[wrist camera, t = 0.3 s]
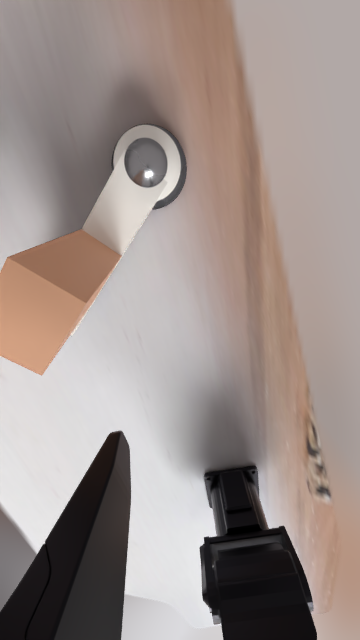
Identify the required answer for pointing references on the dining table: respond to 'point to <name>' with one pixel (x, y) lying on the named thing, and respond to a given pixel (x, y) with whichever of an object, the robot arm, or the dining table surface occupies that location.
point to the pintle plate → (152, 165)
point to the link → (76, 262)
